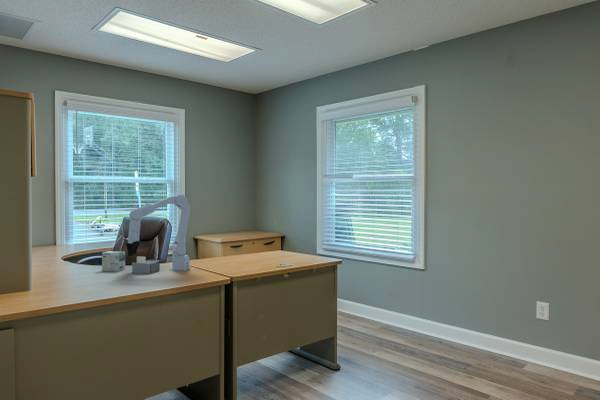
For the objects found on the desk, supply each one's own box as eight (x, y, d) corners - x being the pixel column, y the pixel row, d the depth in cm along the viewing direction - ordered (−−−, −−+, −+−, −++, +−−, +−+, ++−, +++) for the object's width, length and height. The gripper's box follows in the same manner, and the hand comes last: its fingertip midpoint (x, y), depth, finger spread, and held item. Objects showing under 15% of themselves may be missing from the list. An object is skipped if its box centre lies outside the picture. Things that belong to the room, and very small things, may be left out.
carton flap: (150, 273, 233) (150, 257, 232) (149, 273, 232) (149, 257, 232) (132, 272, 235) (133, 256, 235) (132, 272, 234) (132, 256, 234)
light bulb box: (125, 269, 244) (125, 251, 244) (119, 272, 237) (119, 252, 237) (107, 269, 245) (108, 250, 245) (101, 271, 239) (101, 252, 238)
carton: (159, 271, 242) (159, 261, 242) (150, 274, 233) (150, 264, 233) (142, 270, 244) (142, 260, 244) (132, 273, 235) (133, 263, 235)
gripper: (130, 229, 241) (127, 253, 241) (123, 231, 227) (120, 256, 226) (143, 230, 242) (140, 254, 242) (136, 232, 228) (134, 257, 227)
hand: (132, 255), depth 234 cm, fingers open, 7 cm apart
